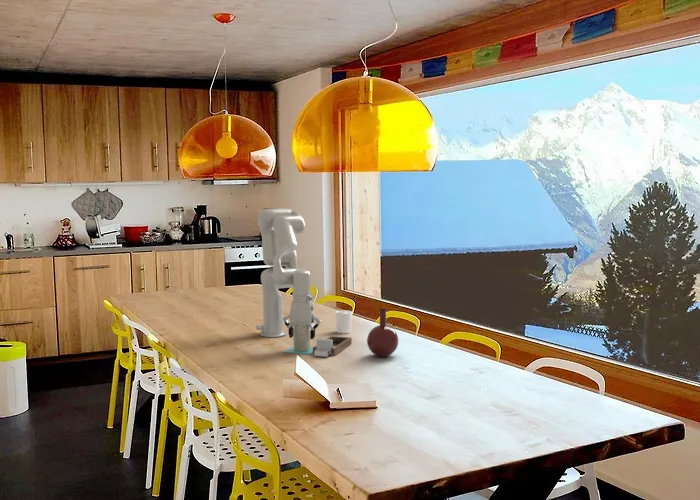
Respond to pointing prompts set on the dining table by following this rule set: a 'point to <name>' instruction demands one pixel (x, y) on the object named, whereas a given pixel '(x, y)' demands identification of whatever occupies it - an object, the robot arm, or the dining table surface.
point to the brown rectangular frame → (343, 344)
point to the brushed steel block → (324, 347)
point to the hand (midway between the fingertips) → (301, 337)
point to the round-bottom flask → (382, 338)
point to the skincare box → (301, 336)
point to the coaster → (299, 351)
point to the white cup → (343, 321)
